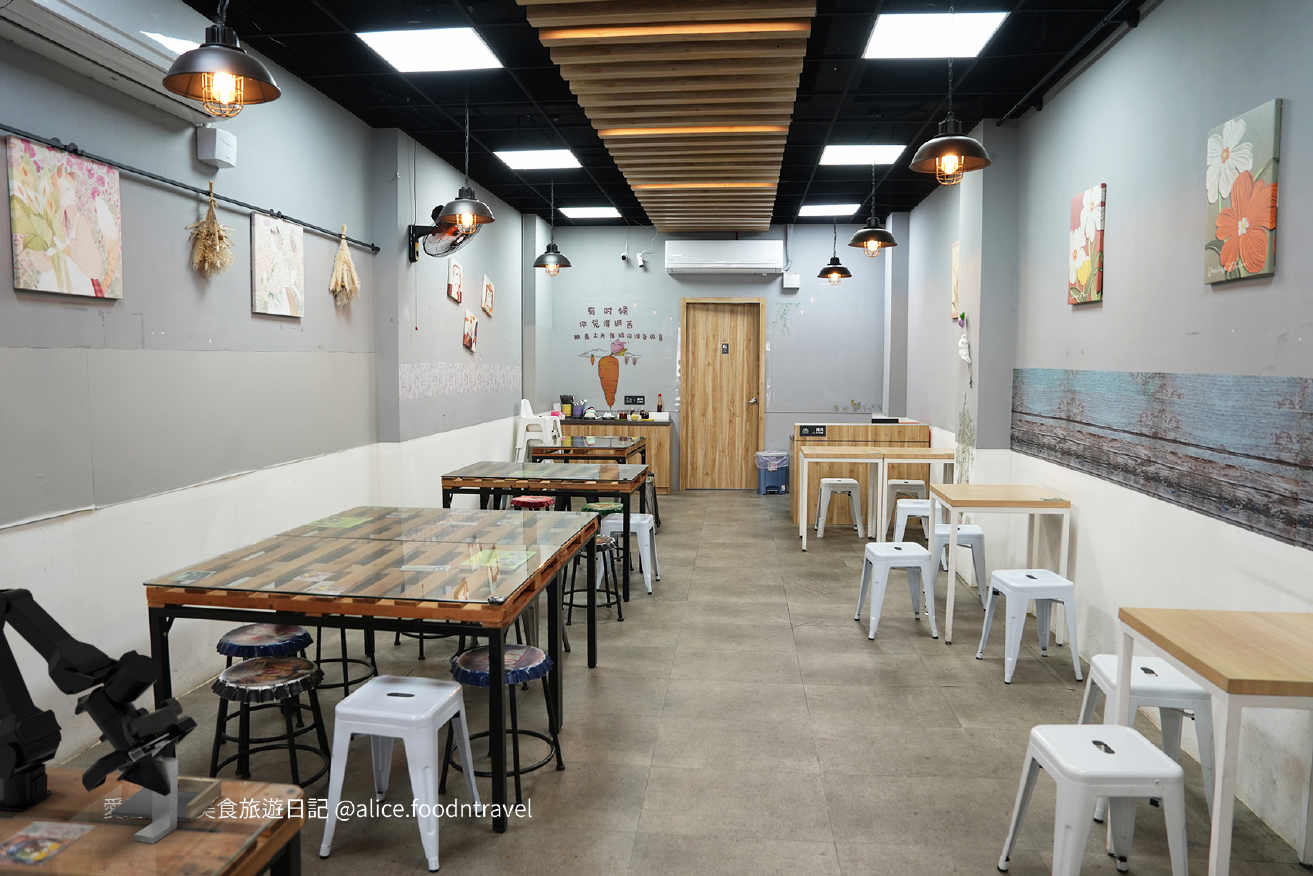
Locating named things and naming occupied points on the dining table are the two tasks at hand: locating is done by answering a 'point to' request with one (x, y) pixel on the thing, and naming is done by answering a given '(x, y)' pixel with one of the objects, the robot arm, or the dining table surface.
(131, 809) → the charcoal mat
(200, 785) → the wooden corner walls
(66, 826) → the dining table surface
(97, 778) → the robot arm
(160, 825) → the aluminium bracket
